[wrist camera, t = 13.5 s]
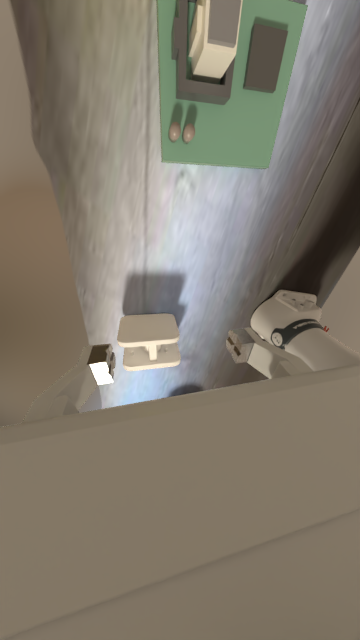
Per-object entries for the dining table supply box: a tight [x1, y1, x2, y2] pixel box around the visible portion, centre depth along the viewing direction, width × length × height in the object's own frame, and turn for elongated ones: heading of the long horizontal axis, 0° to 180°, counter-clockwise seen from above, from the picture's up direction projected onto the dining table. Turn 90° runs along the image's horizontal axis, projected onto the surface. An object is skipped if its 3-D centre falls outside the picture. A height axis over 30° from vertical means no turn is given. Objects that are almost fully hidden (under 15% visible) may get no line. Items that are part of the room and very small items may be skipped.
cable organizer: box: [117, 313, 181, 371], centre depth 44 cm, size 15×11×12 cm
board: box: [156, 0, 308, 169], centre depth 24 cm, size 20×16×4 cm
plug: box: [189, 0, 243, 84], centre depth 20 cm, size 4×5×7 cm
